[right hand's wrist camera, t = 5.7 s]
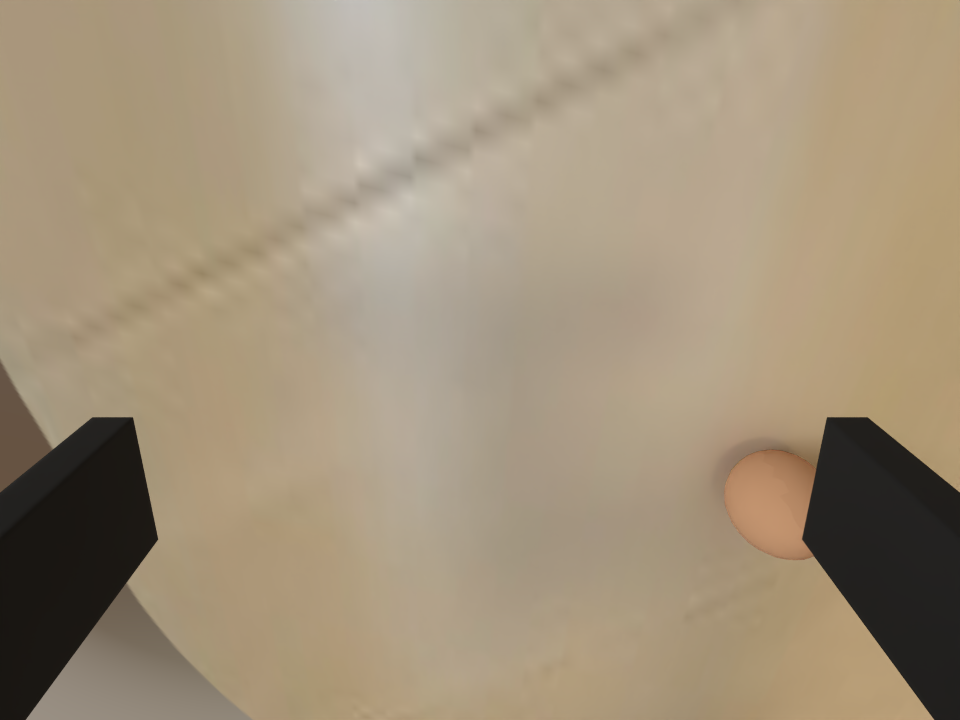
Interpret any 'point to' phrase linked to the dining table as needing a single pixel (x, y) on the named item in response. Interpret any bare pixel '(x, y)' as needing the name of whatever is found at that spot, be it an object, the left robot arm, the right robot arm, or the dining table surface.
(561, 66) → the dining table surface
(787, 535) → the egg
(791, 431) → the dining table surface
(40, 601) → the right robot arm
